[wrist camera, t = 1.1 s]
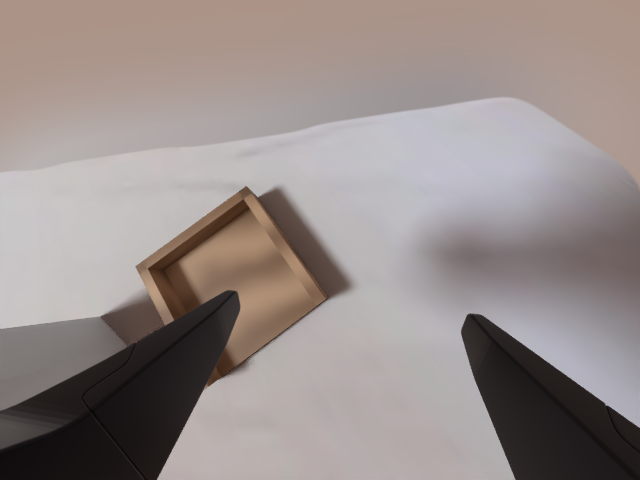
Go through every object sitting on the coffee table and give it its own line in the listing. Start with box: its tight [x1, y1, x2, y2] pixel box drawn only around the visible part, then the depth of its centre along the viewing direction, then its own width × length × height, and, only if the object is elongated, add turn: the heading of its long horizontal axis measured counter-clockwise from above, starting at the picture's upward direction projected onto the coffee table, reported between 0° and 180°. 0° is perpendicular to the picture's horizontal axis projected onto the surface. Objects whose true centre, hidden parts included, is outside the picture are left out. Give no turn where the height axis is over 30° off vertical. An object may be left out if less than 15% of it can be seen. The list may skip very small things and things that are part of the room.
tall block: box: [0, 317, 127, 411], centre depth 20 cm, size 5×6×10 cm
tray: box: [136, 186, 328, 390], centre depth 23 cm, size 14×14×3 cm
